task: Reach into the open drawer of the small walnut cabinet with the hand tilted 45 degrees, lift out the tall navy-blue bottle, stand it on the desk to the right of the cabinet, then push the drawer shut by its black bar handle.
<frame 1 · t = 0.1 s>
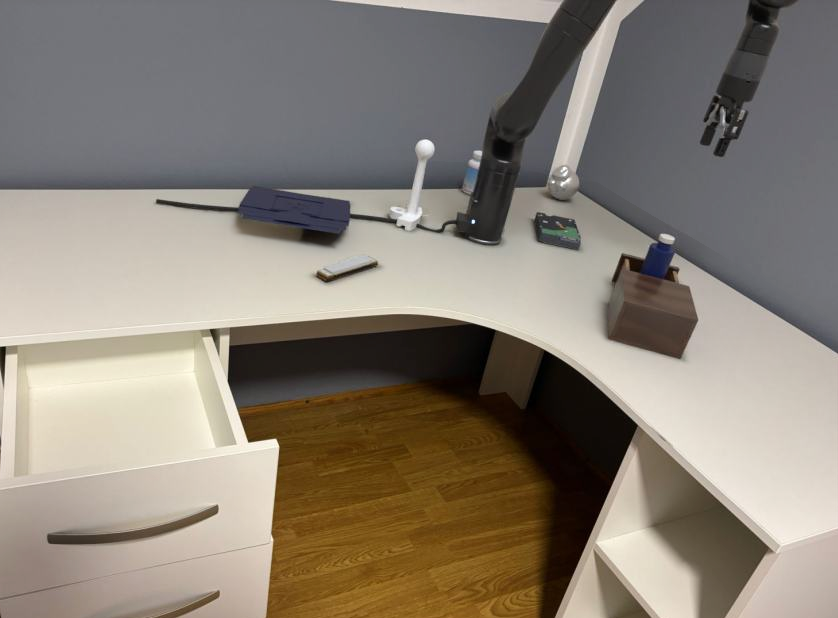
hand: (711, 150, 156), 29 cm above the table, tool pointing down, fingers open, 8 cm apart
cabinet: (642, 330, 140), on the table
bottle: (642, 297, 149), point 2 cm above the table, touching drawer
ghost figurine: (557, 199, 204), on the table
drawer: (646, 283, 150), point 4 cm above the table, slide at 10.5 cm, touching bottle
pill bottle: (472, 193, 196), on the table
disk drive: (555, 235, 178), on the table
laptop stand: (295, 218, 160), on the table
joystick: (403, 221, 169), on the table
harmonica: (347, 272, 141), on the table
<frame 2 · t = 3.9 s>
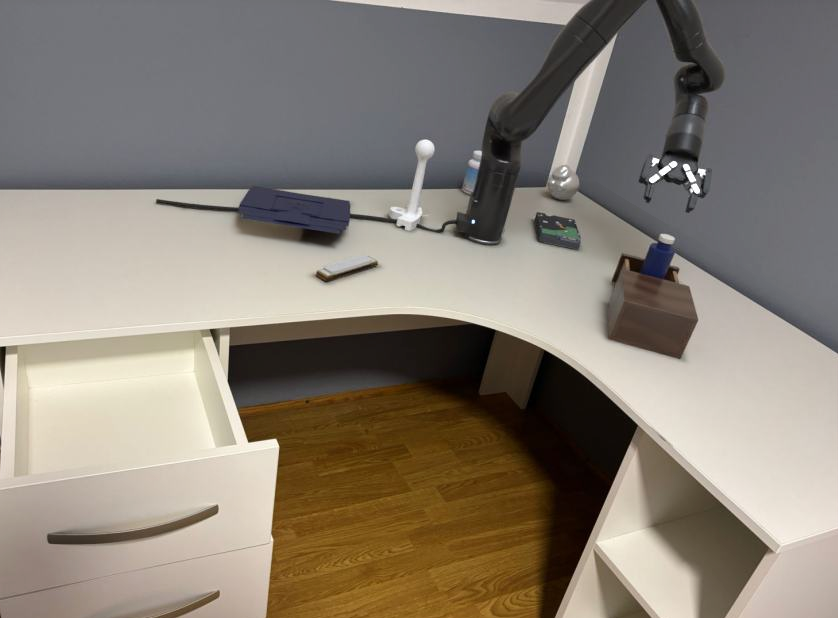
hand: (668, 206, 150), 19 cm above the table, tool tilted 45°, fingers open, 8 cm apart
nothing on the table moved.
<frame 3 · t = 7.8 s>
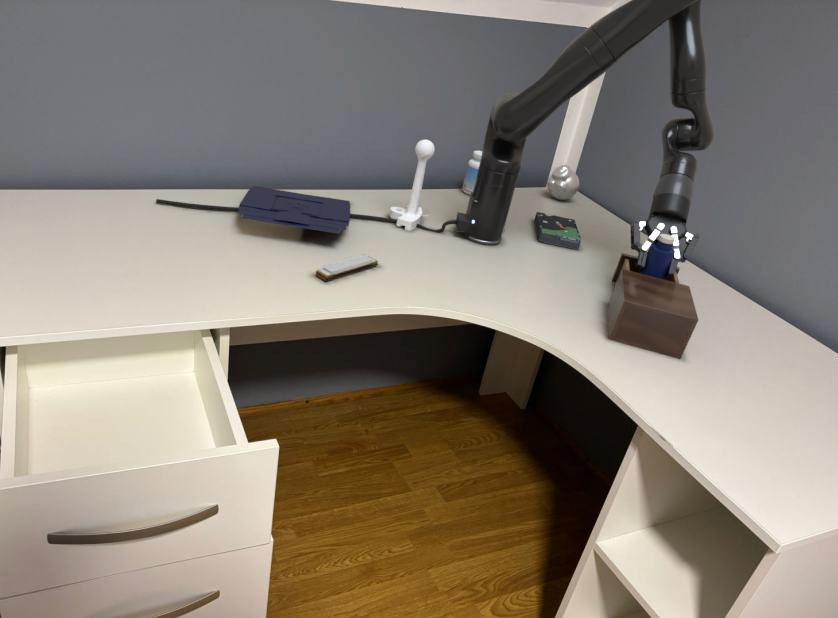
hand: (654, 272, 144), 9 cm above the table, tool tilted 45°, fingers closed on bottle, 5 cm apart
bottle: (642, 297, 149), point 2 cm above the table, touching drawer, gripper
everything else where it was.
when the fingers open (7 cm above the table, at t = 16.2 s): bottle stays where it is, on the table.
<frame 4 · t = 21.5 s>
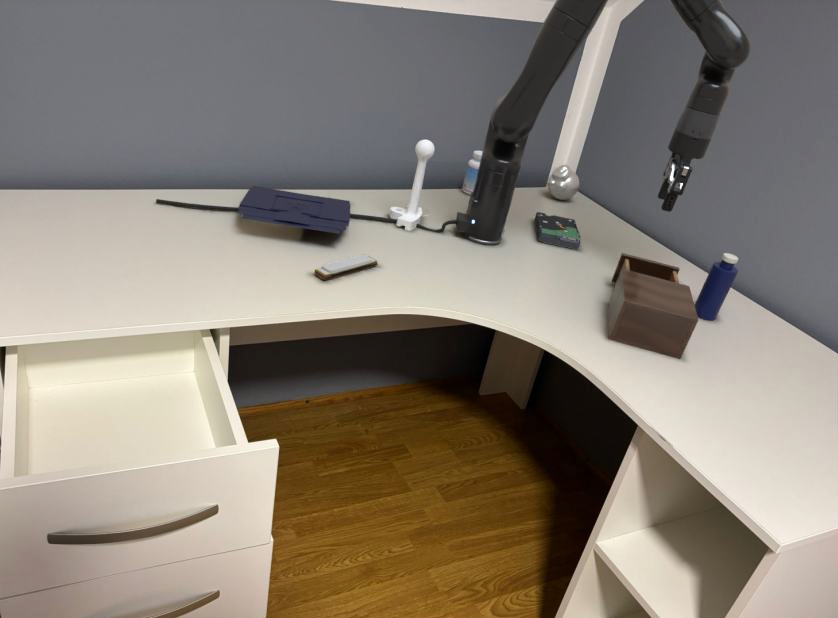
hand: (663, 204, 155), 18 cm above the table, tool pointing down, fingers open, 8 cm apart
bottle: (703, 314, 152), on the table
drawer: (646, 283, 150), point 4 cm above the table, slide at 10.5 cm
everything else where it was.
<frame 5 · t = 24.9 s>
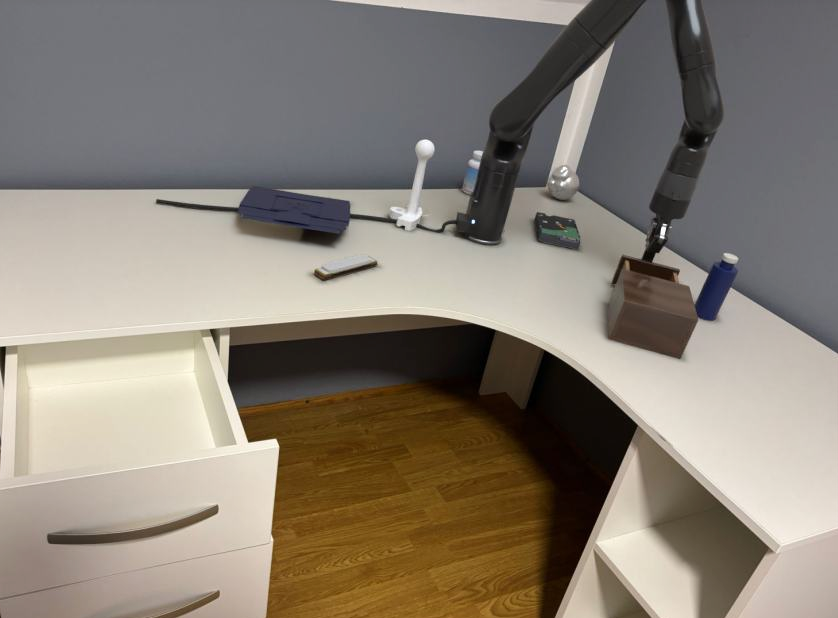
hand: (644, 265, 157), 5 cm above the table, tool pointing down, fingers closed
drawer: (646, 285, 149), point 4 cm above the table, slide at 9.6 cm, touching gripper
everything else where it was.
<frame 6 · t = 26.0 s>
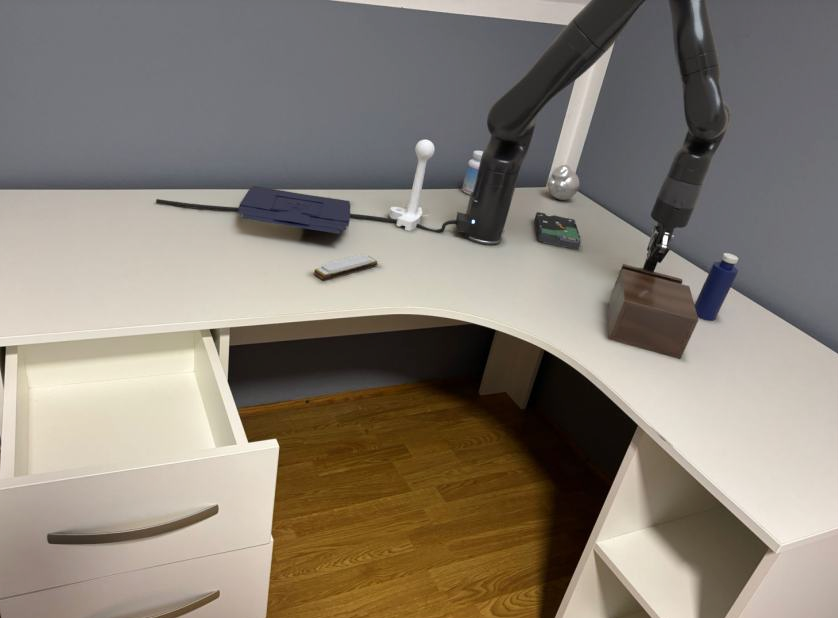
hand: (646, 275, 153), 5 cm above the table, tool pointing down, fingers closed
drawer: (647, 295, 144), point 4 cm above the table, slide at 4.1 cm, touching gripper
everything else where it was.
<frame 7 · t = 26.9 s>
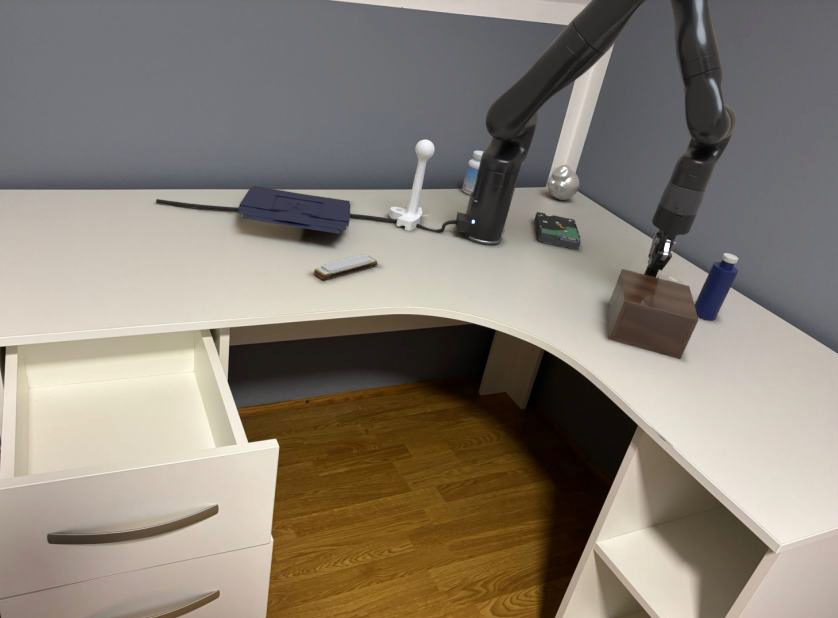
hand: (647, 282, 149), 5 cm above the table, tool pointing down, fingers closed
drawer: (649, 304, 141), point 4 cm above the table, slide at 0.0 cm, touching cabinet, gripper
everything else where it was.
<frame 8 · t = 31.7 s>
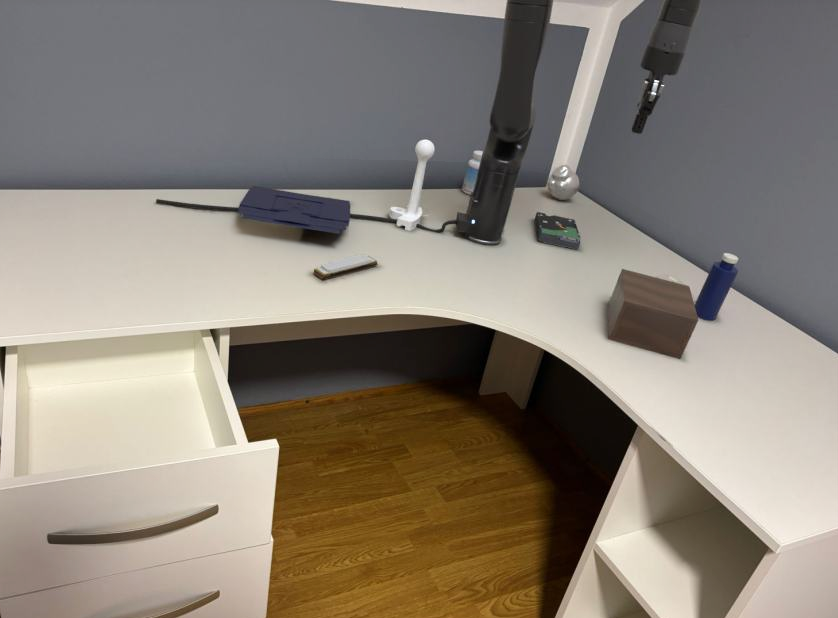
hand: (636, 132, 150), 31 cm above the table, tool pointing down, fingers closed
drawer: (649, 304, 141), point 4 cm above the table, slide at 0.0 cm, touching cabinet
everything else where it was.
at the end: bottle 0.1 cm from the target spot, on the table; bottle tilted 0°; drawer slide at 0.0 cm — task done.
